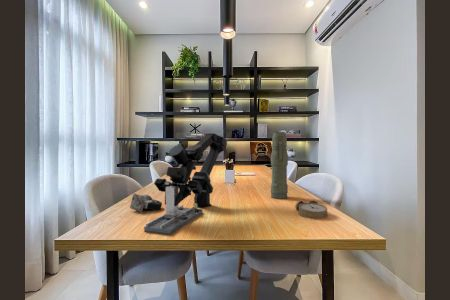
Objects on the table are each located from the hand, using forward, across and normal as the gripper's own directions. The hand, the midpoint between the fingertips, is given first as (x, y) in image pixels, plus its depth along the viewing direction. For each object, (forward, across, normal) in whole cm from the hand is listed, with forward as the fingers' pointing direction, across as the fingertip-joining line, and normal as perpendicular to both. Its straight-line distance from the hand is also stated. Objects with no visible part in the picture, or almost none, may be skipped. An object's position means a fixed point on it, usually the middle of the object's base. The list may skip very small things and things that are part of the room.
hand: (170, 205), depth 91 cm
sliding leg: (+2, +2, +4) cm, 5 cm away
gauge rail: (+3, +2, +6) cm, 7 cm away
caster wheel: (-4, -19, +14) cm, 24 cm away
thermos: (-34, +34, +43) cm, 65 cm away
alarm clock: (-15, +50, +25) cm, 58 cm away
